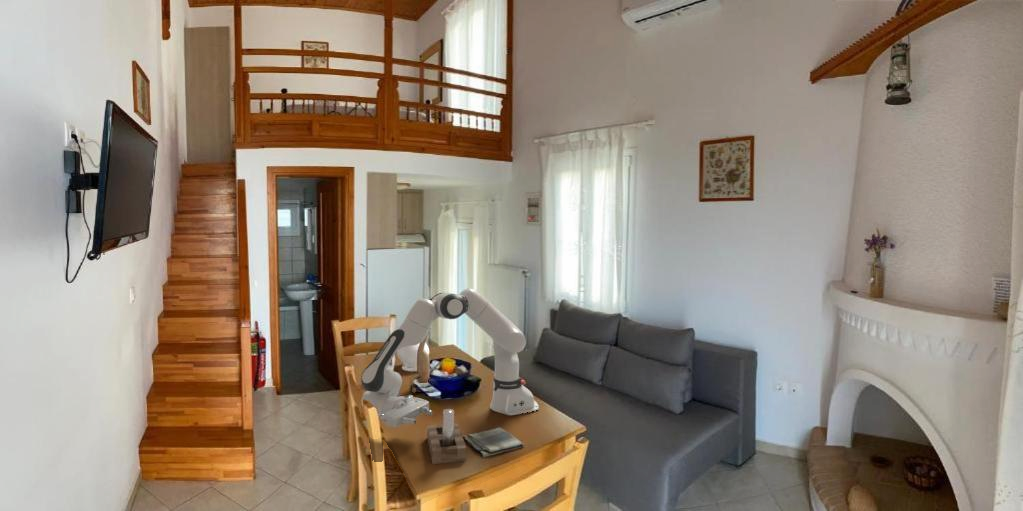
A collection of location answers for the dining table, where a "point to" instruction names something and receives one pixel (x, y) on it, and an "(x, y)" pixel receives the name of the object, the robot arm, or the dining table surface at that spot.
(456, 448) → the bore block
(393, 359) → the beer glass
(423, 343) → the bird sculpture
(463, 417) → the dining table surface
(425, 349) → the decorative vase
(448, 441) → the pin
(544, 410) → the dining table surface
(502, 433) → the dish towel
